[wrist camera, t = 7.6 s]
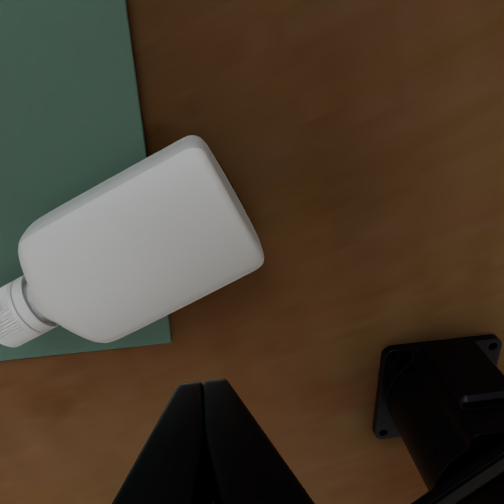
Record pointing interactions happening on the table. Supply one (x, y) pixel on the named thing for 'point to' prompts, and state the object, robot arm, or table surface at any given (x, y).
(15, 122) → the mat
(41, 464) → the table surface
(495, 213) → the table surface
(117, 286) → the eye dropper bottle
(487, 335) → the robot arm
